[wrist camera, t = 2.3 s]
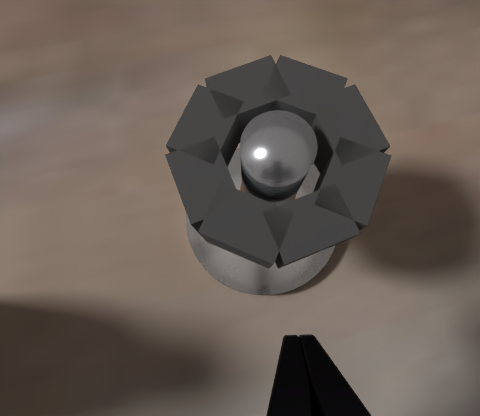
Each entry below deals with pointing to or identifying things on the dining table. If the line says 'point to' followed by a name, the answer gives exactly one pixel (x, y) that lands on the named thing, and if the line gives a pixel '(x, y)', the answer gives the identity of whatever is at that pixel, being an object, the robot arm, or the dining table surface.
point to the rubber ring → (327, 161)
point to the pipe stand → (271, 190)
